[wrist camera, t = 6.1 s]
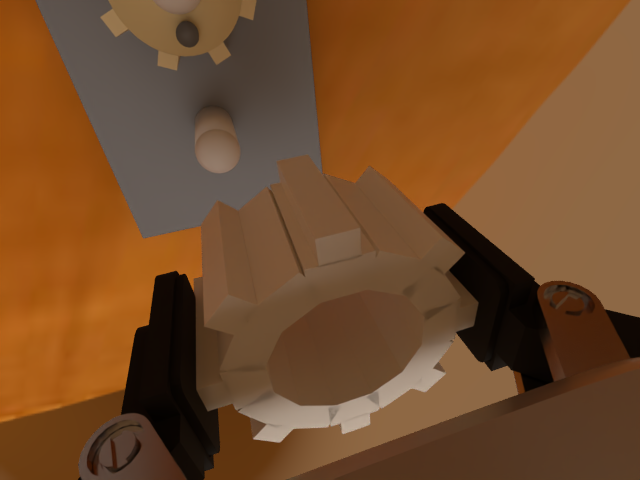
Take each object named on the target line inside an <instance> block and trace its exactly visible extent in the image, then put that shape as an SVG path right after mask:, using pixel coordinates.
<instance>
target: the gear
mask: <svg viewBox="0 0 640 480" xmlns="http://www.w3.org/2000/svg"><path fill="white" fill-rule="evenodd" d="M276 162H277V167H278V173H279V178H280V183H276V184H271V185H270V187H271V190H270V189H269V188H268V187H265V188H264V189H263V190H262V191H261V192H260V193H258V194H257V195H256V196H255V197H254V198H252V199H251V200H250V201H249V202H248V203H247V204H245V205H244V206H243V207H242V208H241V209H239V210H236V209H234V208H232V207H230V206H228V205H226V204H224V203H222V202H220V201H218V200H217V201H216V203H215V204H214V206H213V207H212V209H211V210H210V212H209V213H208V215H207V216H206V218H205V219H204V221H203V222H202V224H201V239H202V272H203V277H199V278H195V279H194V294H195V297H196V390H197V392H198V394H199V396H200V398H201V400H202V401H203V403H204V405H205V407H206V409H207V411H210V410H214V409H217V408H220V407H223V406H226V405H229V404H232V403H233V405H234V407H235V410H237V409H238V412H239V413H242V414H244V415H246V416H249V417H250V420H251V428H252V434H253V435H252V436H253V439H257V440H266V441H273V442H281V441H282V440H283V439H284V438H285V437H286V436H287V435H288V434H289V433H290V432H291V431H292V430H293V429H294V428H322V427H328V426H329V425H330V424H331V426H334V425H337V424H339V426H340V429H341V431H342V434H345V433H348V432H350V431H353V430H356V429H359V428H362V427H365V426H367V425H370V413H372V412H375V411H377V410H379V407H381V408H383V407H385V406H386V405H388V404H389V403H391V402H392V401H394V400H395V399H397V398H398V397H400V396H401V395H402V394H404V393H405V392H407V391H408V390H410V389H411V388H413V389H416V390H420V391H423V392H426V391H427V390H428V389H429V388H430V387H431V386H432V385H434V384H435V383H436V382H437V381H438V380H439V379H440V378H441V377H443V376H444V375H445V374H446V372H445V371H444V369H443V368H442V366H441V365H440V363H439V362H438V361H439V360H440V359H441V357H442V356H443V355H444V353H445V352H446V351H447V349H448V348H449V347H450V345H451V344H452V343H453V339H455V335H456V332H457V331H460V330H463V329H466V328H469V327H472V326H474V322H475V317H476V312H477V308H478V303H479V302H478V301H477V300H476V299H475V298H474V297H473V296H472V295H471V294H470V293H469V292H468V291H467V289H466V288H465V287H464V286H463V285H462V284H461V283H460V282H459V281H458V280H457V279H456V278H455V277H454V275H453V274H452V273H451V272H450V271H449V269H450V268H451V267H452V266H453V265H454V264H455V263H456V262H457V261H458V260H459V259H460V258H461V257H462V256H463V255H464V254H465V252H464V251H463V250H462V249H461V248H460V247H459V246H458V245H457V244H456V243H454V242H453V241H452V240H451V239H450V238H449V237H448V236H447V235H446V234H445V233H444V232H443V231H442V230H441V229H440V228H439V227H438V226H437V225H436V224H434V223H433V222H432V221H431V220H430V219H429V218H428V217H427V216H426V215H425V214H424V213H423V212H422V211H421V210H420V209H419V208H418V207H417V206H416V205H414V204H413V203H412V202H411V201H410V200H409V199H408V198H407V197H406V196H405V195H404V194H403V193H402V192H401V191H400V190H399V189H398V188H397V187H396V186H394V185H393V184H392V183H391V182H390V181H389V180H388V179H387V178H385V177H384V176H383V175H381V174H380V173H379V172H377V171H376V170H374V169H373V168H372V167H370V166H369V167H368V168H367V169H366V171H365V172H364V173H363V174H362V176H361V177H360V178H359V179H358V181H357V182H356V183H353V182H350V181H346V180H343V179H340V178H337V177H333V176H330V175H327V174H324V175H322V173H321V172H320V171H319V169H318V168H317V166H316V165H315V164H314V162H313V161H312V159H311V158H310V157H309V155H308V154H307V155H303V156H298V157H293V158H289V159H284V160H279V161H276Z"/></svg>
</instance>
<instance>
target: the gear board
mask: <svg viewBox="0 0 640 480" xmlns="http://www.w3.org/2000/svg"><path fill="white" fill-rule="evenodd" d="M36 2H37V5H38V7H39V9H40V11H41V13H42V16H43V18H44V20H45V22H46V25H47V27H48V29H49V31H50V33H51V36H52V38H53V40H54V42H55V44H56V47H57V49H58V51H59V53H60V55H61V58H62V60H63V62H64V64H65V66H66V69H67V71H68V73H69V75H70V78H71V80H72V82H73V84H74V86H75V89H76V91H77V93H78V95H79V97H80V100H81V102H82V104H83V106H84V108H85V111H86V113H87V115H88V117H89V119H90V122H91V124H92V126H93V128H94V131H95V133H96V135H97V137H98V139H99V142H100V144H101V146H102V148H103V150H104V153H105V155H106V157H107V159H108V161H109V164H110V166H111V168H112V170H113V172H114V175H115V177H116V179H117V181H118V184H119V186H120V188H121V190H122V192H123V195H124V197H125V199H126V201H127V203H128V206H129V208H130V210H131V212H132V214H133V217H134V219H135V221H136V223H137V226H138V228H139V230H140V232H141V234H142V237H143V238H147V237H152V236H157V235H161V234H166V233H170V232H175V231H179V230H184V229H189V228H193V227H198V226H201V224H202V222H203V221H204V219H205V218H206V216H207V215H208V213H209V212H210V210H211V209H212V207H213V206H214V204H215V203H216V201H217V200H218V201H220V202H222V203H224V204H226V205H228V206H230V207H232V208H234V209H236V210H239V209H241V208H242V207H243V206H244V205H245V204H247V203H248V202H249V201H250V200H251V199H252V198H254V197H255V196H256V195H257V194H258V193H260V192H261V191H262V190H263V189H264V188H265V187H268V188H269V189H270V190H271V187H270V185H271V184H276V183H280V178H279V173H278V167H277V162H276V161H279V160H284V159H289V158H293V157H298V156H303V155H307V154H308V155H309V157H310V158H311V159H312V161H313V162H314V164H315V165H316V166H317V168H318V169H319V171H320V172H321V173H322V165H321V154H320V143H319V133H318V122H317V111H316V100H315V89H314V78H313V67H312V56H311V45H310V34H309V23H308V13H307V2H306V0H36Z"/></svg>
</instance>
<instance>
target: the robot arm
mask: <svg viewBox="0 0 640 480" xmlns="http://www.w3.org/2000/svg"><path fill="white" fill-rule="evenodd" d="M423 213H424V214H425V215H426V216H427V217H428V218H429V219H430V220H431V221H432V222H433V223H434V224H436V225H437V226H438V227H439V228H440V229H441V230H442V231H443V232H444V233H445V234H446V235H447V236H448V237H449V238H450V239H451V240H452V241H453V242H454V243H456V244H457V245H458V246H459V247H460V248H461V249H462V250H463V251H464V252H465V254H464V255H463V256H462V257H461V258H460V259H459V260H458V261H457V262H456V263H455V264H454V265H453V266H452V267H451V268H450V269H449V271H450V272H451V273H452V274H453V275H454V277H455V278H456V279H457V280H458V281H459V282H460V283H461V284H462V285H463V286H464V287H465V288H466V289H467V291H468V292H469V293H470V294H471V295H472V296H473V297H474V298H475V299H476V300H477V301H478V302H479V303H478V308H477V312H476V317H475V322H474V326H472V327H469V328H466V329H463V330H460V331H457V332H456V333H457V334H458V336H459V337H460V338H461V340H462V341H463V342H464V343H465V345H466V346H467V347H468V349H469V350H470V351H471V352H472V354H473V355H474V356H475V358H476V359H477V360H478V361H480V362H485V364H486V365H487V366H488V367H489V369H490V370H491V371H493V370H496V369H499V368H502V367H505V366H508V367H509V368H510V369H511V370H513V373H514V377H515V382H516V386H517V391H518V395H516V396H513V397H510V398H508V399H505V400H502V401H499V402H497V403H494V404H491V405H488V406H485V407H483V408H480V409H477V410H474V411H472V412H469V413H466V414H463V415H461V416H458V417H455V418H452V419H450V420H447V421H444V422H441V423H439V424H436V425H433V426H431V427H428V428H425V429H422V430H420V431H417V432H414V433H411V434H409V435H406V436H403V437H400V438H398V439H395V440H392V441H389V442H387V443H384V444H381V445H379V446H376V447H373V448H370V449H368V450H365V451H362V452H359V453H357V454H354V455H351V456H349V457H346V458H343V459H341V460H338V461H335V462H333V463H330V464H327V465H325V466H322V467H319V468H317V469H314V470H311V471H309V472H306V473H303V474H300V475H298V476H295V477H292V478H290V479H287V480H640V318H639V317H635V316H630V315H626V314H622V313H618V312H614V311H610V310H605V309H604V307H603V305H602V304H601V302H600V300H599V299H598V298H597V297H596V295H594V294H593V293H592V292H591V291H589V290H588V289H585V288H584V287H582V286H580V285H577V284H574V283H571V282H565V281H551V282H547V283H544V284H543V285H541V286H540V285H539V284H537V283H536V282H535V281H534V280H535V278H533V277H532V276H531V275H530V274H529V273H528V272H526V271H525V270H524V269H523V268H522V267H520V266H519V265H518V264H517V263H516V262H514V261H513V260H512V259H511V258H510V257H508V256H507V255H506V254H505V253H503V252H502V251H501V250H500V249H499V248H497V247H496V246H495V245H494V244H493V243H491V242H490V241H489V240H488V239H487V238H485V237H484V236H483V235H482V234H480V233H479V232H478V231H477V230H476V229H475V228H473V227H472V226H471V225H470V224H469V223H467V222H466V221H465V220H464V219H462V218H461V217H460V216H459V215H458V214H456V213H455V212H454V211H453V210H452V209H451V208H449V207H448V206H447V205H446V204H444V203H441V204H437V205H433V206H429V207H426V208H425V209H424V212H423ZM219 451H220V441H219V424H218V408H217V409H214V410H210V411H207V409H206V407H205V405H204V403H203V401H202V400H201V398H200V396H199V394H198V392H197V390H196V297H195V294H194V292H193V290H192V287H191V285H190V283H189V280H188V278H187V276H186V274H182V275H179V273H178V272H177V271H174V272H170V273H166V274H162V275H158V276H156V278H155V284H154V291H153V298H152V306H151V313H150V320H149V325H147V326H143V327H140V328H138V329H137V330H136V333H135V337H134V343H133V348H132V354H131V360H130V366H129V371H128V377H127V383H126V389H125V395H124V400H123V406H122V412H121V415H120V416H118V417H115V418H113V419H111V420H110V421H108V422H106V423H105V424H103V425H102V426H101V427H100V428H99V429H98V430H97V431H96V432H94V434H93V435H92V436H91V438H90V439H89V440H88V442H87V443H86V445H85V447H84V449H83V451H82V452H81V455H80V460H79V464H78V466H79V473H80V478H79V479H78V480H203V479H204V478H205V477H204V471H206V470H210V469H212V468H214V461H213V454H216V453H219Z"/></svg>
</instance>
